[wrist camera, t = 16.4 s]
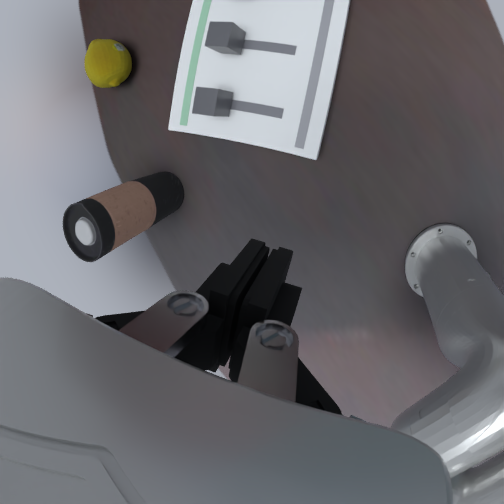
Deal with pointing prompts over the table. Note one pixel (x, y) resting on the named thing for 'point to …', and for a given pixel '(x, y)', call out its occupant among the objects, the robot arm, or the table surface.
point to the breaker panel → (264, 72)
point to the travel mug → (120, 214)
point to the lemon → (107, 63)
